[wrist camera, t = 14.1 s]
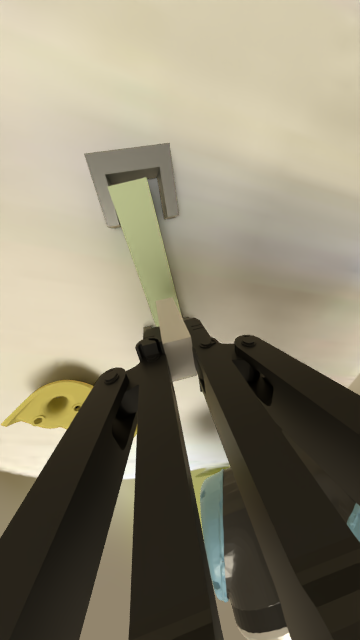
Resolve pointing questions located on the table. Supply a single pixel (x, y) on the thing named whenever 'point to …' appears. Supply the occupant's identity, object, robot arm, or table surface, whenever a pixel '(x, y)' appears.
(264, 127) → the table surface
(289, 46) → the table surface
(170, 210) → the end caps
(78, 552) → the robot arm
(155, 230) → the slat
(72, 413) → the plastic component
